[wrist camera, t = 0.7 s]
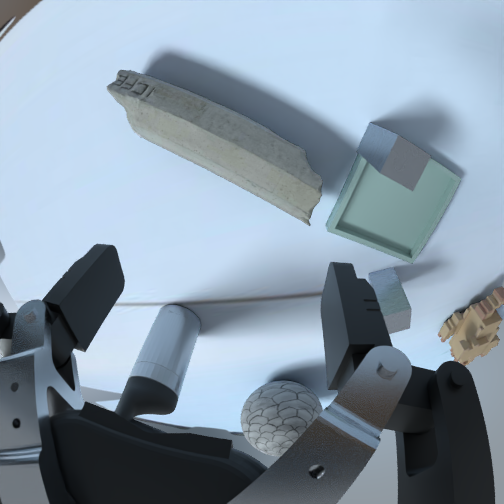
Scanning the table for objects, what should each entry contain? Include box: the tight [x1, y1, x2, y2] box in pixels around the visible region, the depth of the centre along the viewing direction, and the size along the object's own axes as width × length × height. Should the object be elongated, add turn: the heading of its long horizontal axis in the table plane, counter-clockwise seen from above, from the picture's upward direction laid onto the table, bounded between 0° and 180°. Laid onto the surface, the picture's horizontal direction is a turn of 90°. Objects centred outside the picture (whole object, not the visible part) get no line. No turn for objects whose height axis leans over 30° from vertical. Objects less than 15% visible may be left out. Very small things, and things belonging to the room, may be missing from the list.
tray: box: [326, 153, 461, 264], centre depth 35 cm, size 16×16×2 cm
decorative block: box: [107, 70, 323, 226], centre depth 31 cm, size 8×30×8 cm, turn 62°
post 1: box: [356, 123, 431, 191], centre depth 28 cm, size 4×4×10 cm
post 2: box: [369, 267, 411, 334], centre depth 39 cm, size 4×4×10 cm
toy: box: [438, 287, 504, 366], centre depth 42 cm, size 10×20×20 cm
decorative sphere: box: [241, 381, 323, 456], centre depth 57 cm, size 20×20×20 cm
